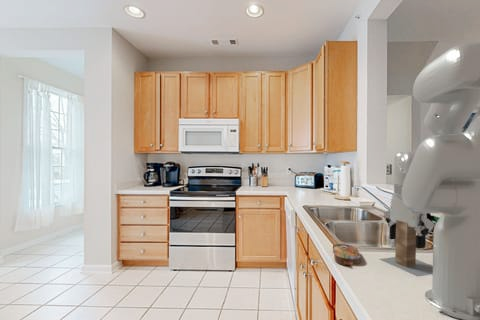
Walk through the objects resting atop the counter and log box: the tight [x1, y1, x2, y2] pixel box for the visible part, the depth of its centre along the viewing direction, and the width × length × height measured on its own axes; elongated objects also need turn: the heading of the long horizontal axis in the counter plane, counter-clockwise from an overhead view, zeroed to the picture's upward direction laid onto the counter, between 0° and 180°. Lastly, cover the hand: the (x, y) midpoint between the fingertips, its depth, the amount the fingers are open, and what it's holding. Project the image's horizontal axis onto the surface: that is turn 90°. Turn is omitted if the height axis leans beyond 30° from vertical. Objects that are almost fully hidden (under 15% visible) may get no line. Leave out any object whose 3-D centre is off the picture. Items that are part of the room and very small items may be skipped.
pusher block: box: [394, 220, 417, 267], centre depth 89 cm, size 4×4×14 cm
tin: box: [332, 243, 362, 266], centre depth 96 cm, size 15×3×8 cm
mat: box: [379, 256, 433, 277], centre depth 89 cm, size 14×12×1 cm
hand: (406, 243), depth 89 cm, fingers open, 9 cm apart
